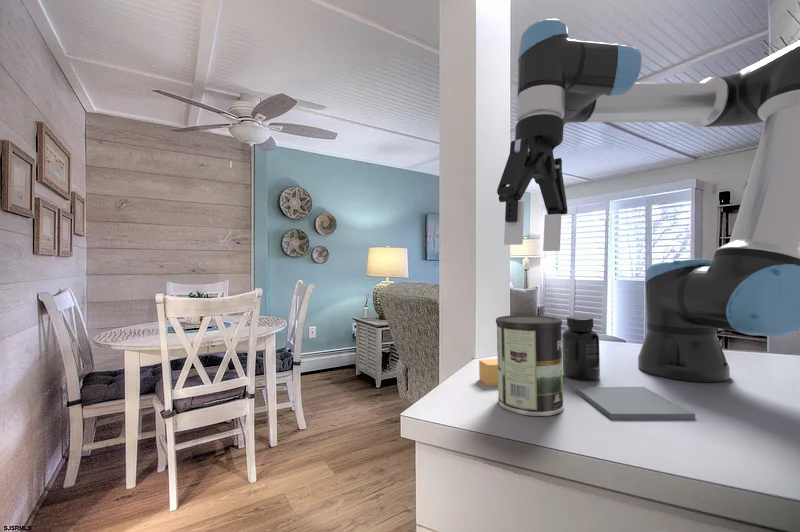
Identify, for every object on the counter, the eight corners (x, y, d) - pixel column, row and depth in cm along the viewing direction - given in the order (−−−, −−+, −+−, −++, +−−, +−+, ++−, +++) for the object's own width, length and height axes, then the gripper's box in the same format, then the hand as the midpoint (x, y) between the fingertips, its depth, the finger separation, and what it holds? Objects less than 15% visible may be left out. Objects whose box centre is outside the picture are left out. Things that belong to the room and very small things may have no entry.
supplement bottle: (597, 373, 76) (596, 316, 76) (602, 383, 70) (600, 320, 70) (562, 370, 79) (561, 315, 79) (563, 379, 73) (562, 319, 73)
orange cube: (497, 378, 74) (497, 358, 74) (507, 384, 71) (507, 363, 71) (479, 380, 74) (479, 360, 74) (488, 386, 70) (488, 365, 70)
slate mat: (643, 391, 65) (643, 386, 65) (695, 419, 53) (695, 413, 53) (575, 391, 66) (575, 387, 66) (611, 419, 54) (611, 413, 54)
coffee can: (556, 395, 64) (554, 314, 64) (571, 419, 54) (569, 323, 54) (495, 392, 66) (494, 314, 66) (499, 414, 56) (497, 322, 56)
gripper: (549, 146, 72) (545, 252, 72) (477, 101, 55) (471, 241, 55) (590, 137, 67) (585, 252, 67) (524, 85, 50) (517, 240, 49)
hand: (533, 248), depth 61 cm, fingers open, 13 cm apart
